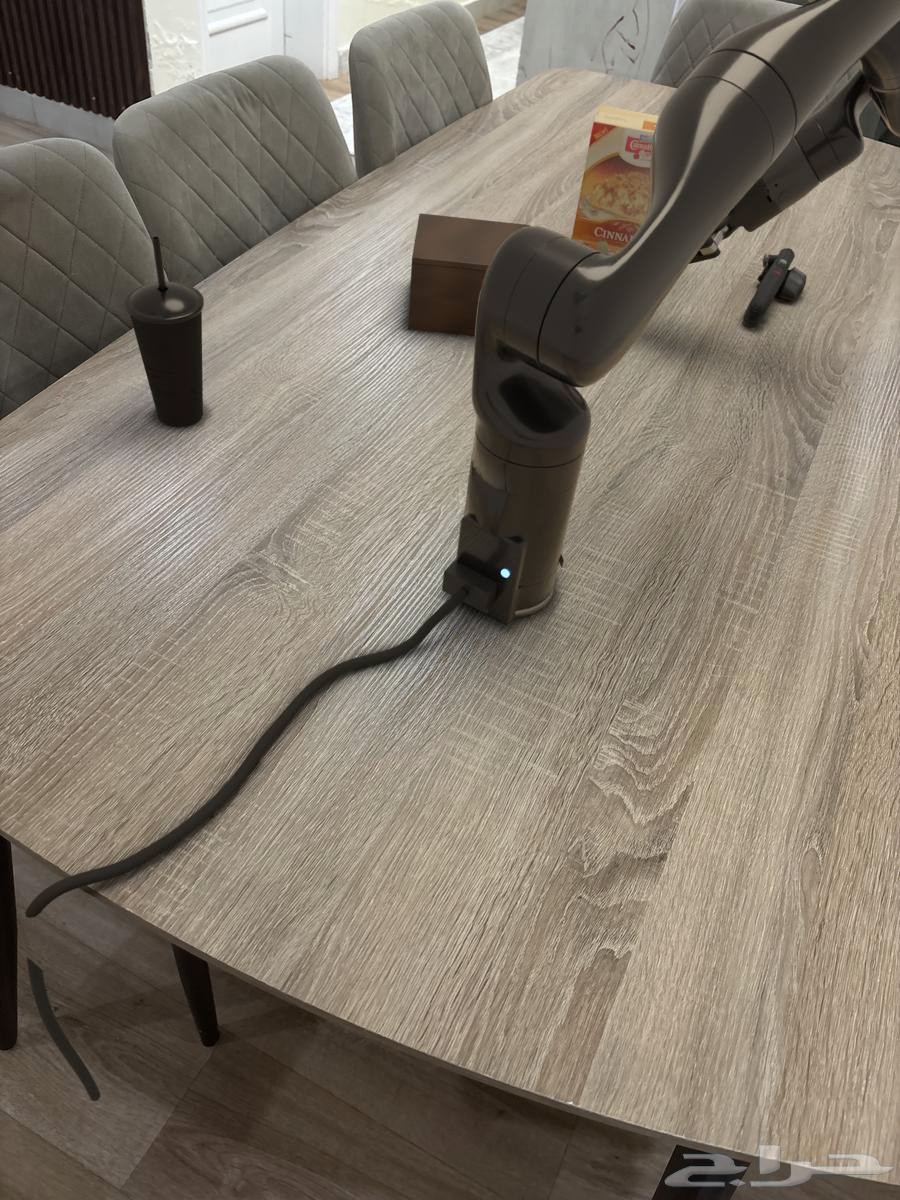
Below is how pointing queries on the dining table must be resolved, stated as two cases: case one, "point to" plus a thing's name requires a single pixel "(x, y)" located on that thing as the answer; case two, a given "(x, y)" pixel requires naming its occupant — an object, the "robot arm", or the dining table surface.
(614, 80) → the dining table surface
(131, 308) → the drinking cup
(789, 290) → the can opener
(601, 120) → the coffeecake box
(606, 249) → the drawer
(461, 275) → the brown wooden box
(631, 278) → the robot arm
